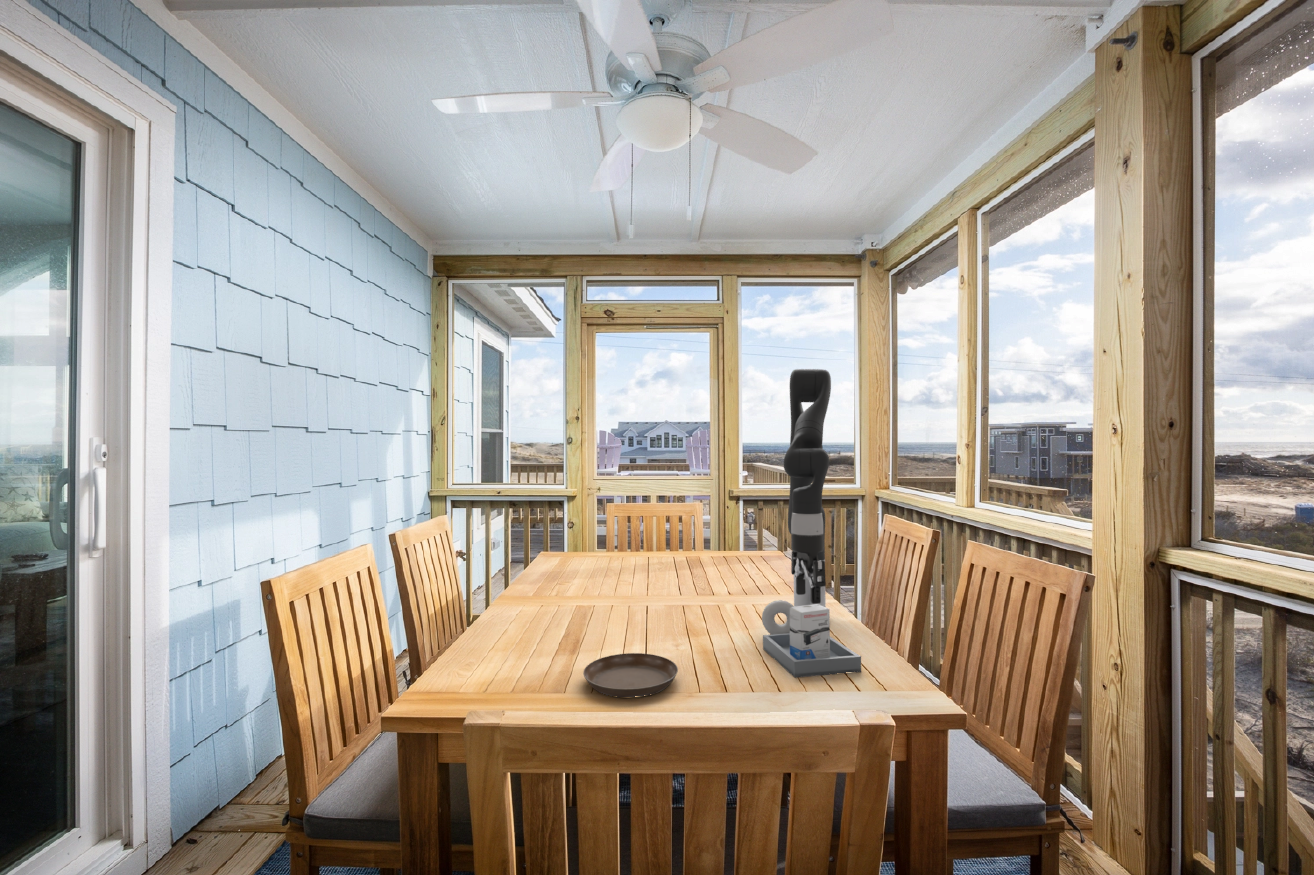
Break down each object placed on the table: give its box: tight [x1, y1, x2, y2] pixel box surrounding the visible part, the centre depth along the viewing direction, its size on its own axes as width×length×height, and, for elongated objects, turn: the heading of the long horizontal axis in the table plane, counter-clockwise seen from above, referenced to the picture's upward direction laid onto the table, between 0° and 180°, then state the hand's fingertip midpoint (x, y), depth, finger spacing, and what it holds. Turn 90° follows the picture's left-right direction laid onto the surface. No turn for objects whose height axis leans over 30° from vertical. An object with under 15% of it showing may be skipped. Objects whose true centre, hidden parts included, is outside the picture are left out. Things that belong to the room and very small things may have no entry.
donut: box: [761, 599, 794, 635], centre depth 168 cm, size 10×4×10 cm, turn 81°
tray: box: [762, 633, 862, 679], centre depth 150 cm, size 20×16×4 cm
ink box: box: [790, 604, 831, 660], centre depth 150 cm, size 8×5×12 cm, turn 113°
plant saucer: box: [583, 652, 679, 698], centre depth 137 cm, size 21×21×3 cm
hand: (807, 598), depth 151 cm, fingers open, 8 cm apart
